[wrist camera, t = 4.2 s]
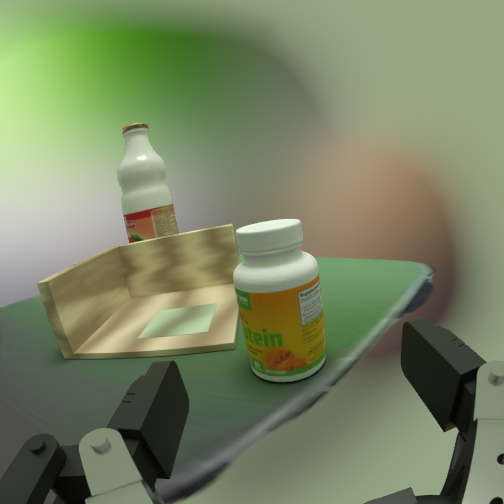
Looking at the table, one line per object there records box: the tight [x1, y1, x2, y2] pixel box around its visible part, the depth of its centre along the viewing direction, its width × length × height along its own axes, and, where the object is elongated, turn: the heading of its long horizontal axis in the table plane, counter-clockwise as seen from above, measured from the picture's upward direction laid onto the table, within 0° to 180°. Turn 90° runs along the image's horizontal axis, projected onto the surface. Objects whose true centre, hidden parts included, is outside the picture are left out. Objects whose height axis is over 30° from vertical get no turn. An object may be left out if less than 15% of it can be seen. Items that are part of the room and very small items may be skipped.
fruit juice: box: [117, 123, 179, 243], centre depth 51 cm, size 9×9×28 cm
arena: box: [37, 224, 240, 359], centre depth 31 cm, size 18×18×8 cm
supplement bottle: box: [233, 219, 326, 382], centre depth 19 cm, size 5×5×10 cm
